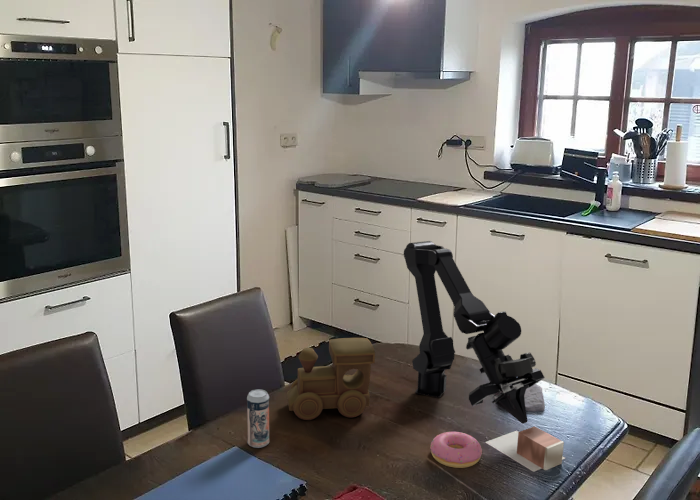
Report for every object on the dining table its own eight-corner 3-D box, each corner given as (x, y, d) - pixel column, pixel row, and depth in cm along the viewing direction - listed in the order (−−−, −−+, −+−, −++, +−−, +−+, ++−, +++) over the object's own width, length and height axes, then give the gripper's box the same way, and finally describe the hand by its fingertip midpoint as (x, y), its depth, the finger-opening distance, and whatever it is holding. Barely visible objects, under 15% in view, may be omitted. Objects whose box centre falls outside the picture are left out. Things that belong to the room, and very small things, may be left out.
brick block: (518, 432, 148) (547, 448, 142) (534, 426, 151) (563, 442, 144) (516, 453, 149) (545, 470, 143) (532, 446, 152) (561, 463, 146)
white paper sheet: (484, 443, 154) (485, 442, 154) (516, 431, 159) (516, 430, 159) (533, 472, 142) (533, 471, 142) (565, 459, 148) (565, 458, 148)
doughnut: (491, 459, 147) (493, 442, 146) (458, 478, 140) (459, 459, 139) (452, 439, 155) (453, 422, 154) (419, 455, 148) (420, 438, 147)
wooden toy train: (365, 397, 175) (367, 335, 171) (374, 418, 164) (376, 353, 160) (286, 401, 171) (286, 338, 168) (290, 423, 161) (290, 356, 157)
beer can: (251, 451, 148) (251, 399, 145) (244, 441, 152) (243, 390, 149) (272, 446, 150) (272, 395, 148) (264, 436, 154) (264, 386, 152)
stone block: (546, 420, 169) (540, 395, 178) (548, 404, 167) (542, 379, 176) (497, 418, 170) (493, 393, 179) (498, 402, 168) (494, 378, 177)
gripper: (481, 350, 145) (517, 420, 139) (542, 334, 155) (577, 398, 149) (453, 372, 153) (486, 439, 147) (512, 355, 163) (545, 417, 157)
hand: (525, 422), depth 150 cm, fingers closed
